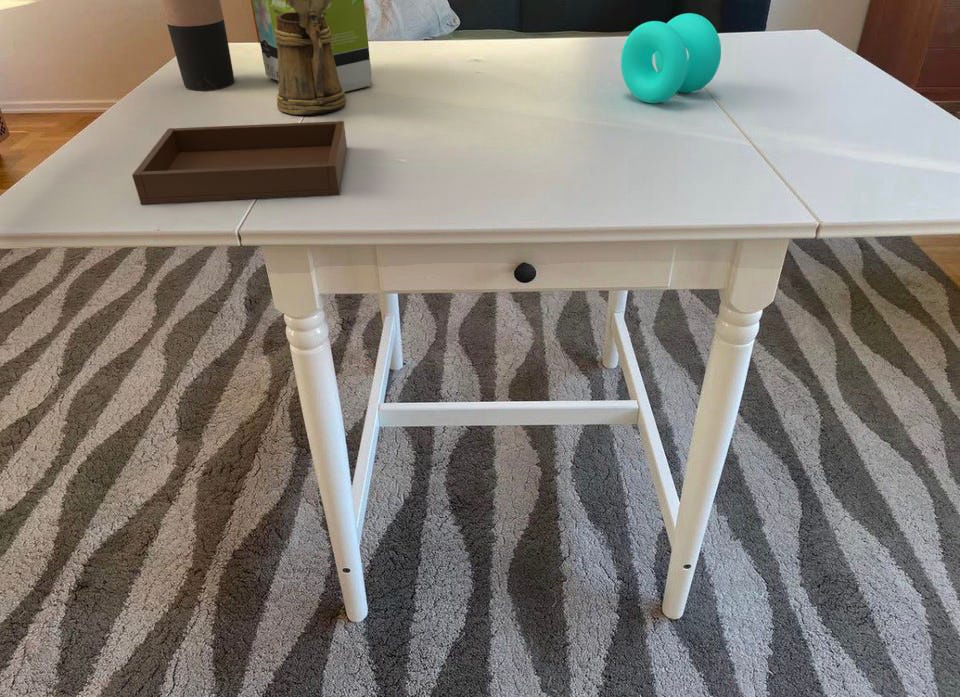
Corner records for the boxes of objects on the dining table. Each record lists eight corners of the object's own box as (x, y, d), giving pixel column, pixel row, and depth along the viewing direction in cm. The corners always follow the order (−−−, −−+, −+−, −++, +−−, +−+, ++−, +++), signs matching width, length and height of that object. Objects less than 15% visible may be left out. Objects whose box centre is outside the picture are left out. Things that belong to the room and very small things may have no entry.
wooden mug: (297, 130, 89) (271, -35, 79) (271, 102, 99) (244, -47, 89) (366, 118, 92) (349, -41, 82) (333, 92, 102) (315, -53, 92)
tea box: (263, 78, 108) (243, -32, 100) (322, 67, 113) (308, -40, 105) (313, 100, 99) (295, -20, 90) (375, 86, 104) (364, -29, 95)
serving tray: (140, 204, 72) (131, 174, 70) (175, 154, 83) (167, 128, 81) (339, 194, 73) (335, 165, 72) (347, 147, 84) (343, 120, 83)
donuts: (718, 97, 98) (732, 17, 92) (671, 113, 93) (683, 29, 87) (659, 82, 104) (669, 6, 99) (612, 95, 99) (620, 17, 93)
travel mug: (186, 78, 109) (149, -75, 98) (238, 75, 110) (208, -77, 99) (178, 92, 103) (138, -69, 91) (234, 89, 104) (200, -71, 92)
